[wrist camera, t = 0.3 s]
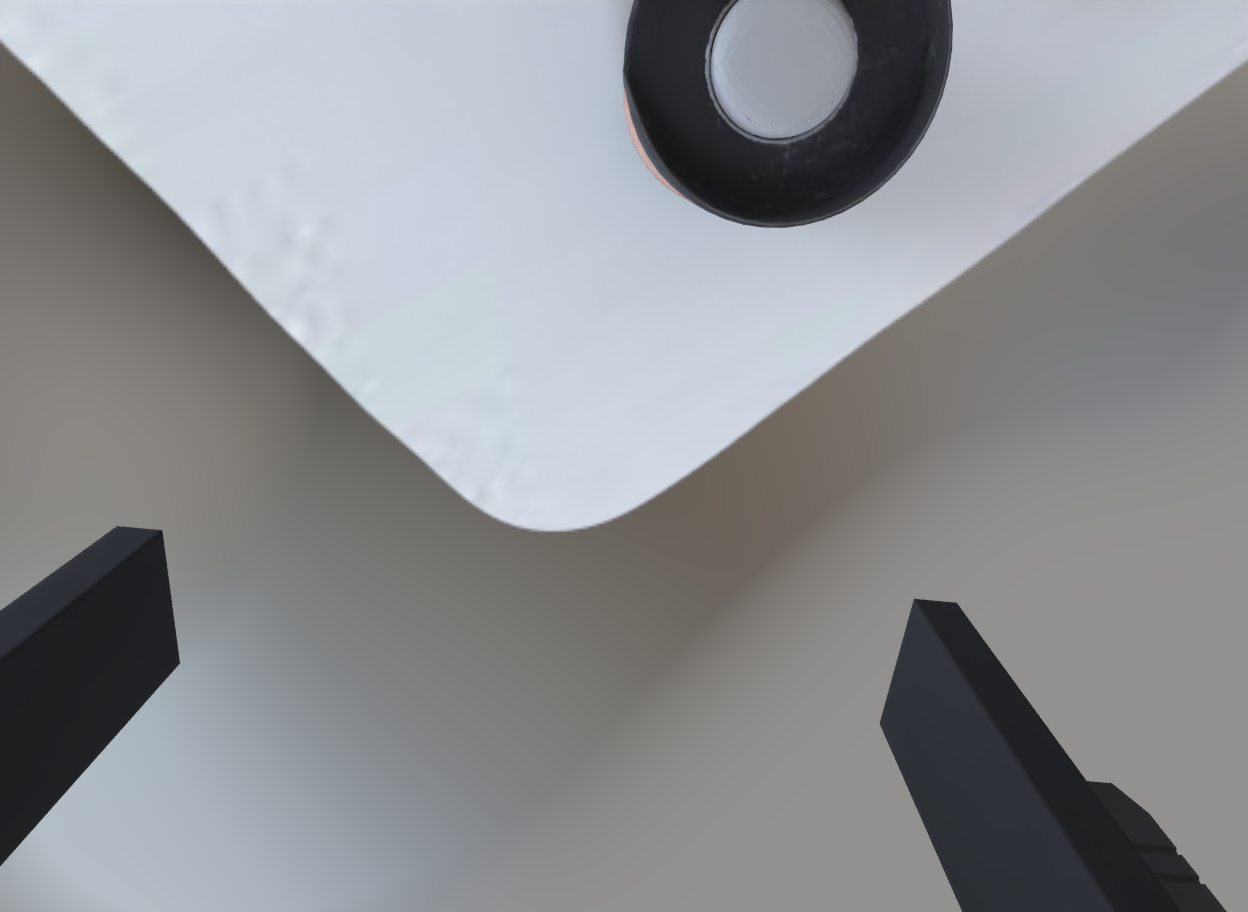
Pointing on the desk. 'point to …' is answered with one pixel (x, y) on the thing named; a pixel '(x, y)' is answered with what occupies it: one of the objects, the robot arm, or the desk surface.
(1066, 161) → the desk surface
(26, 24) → the desk surface
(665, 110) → the travel mug
